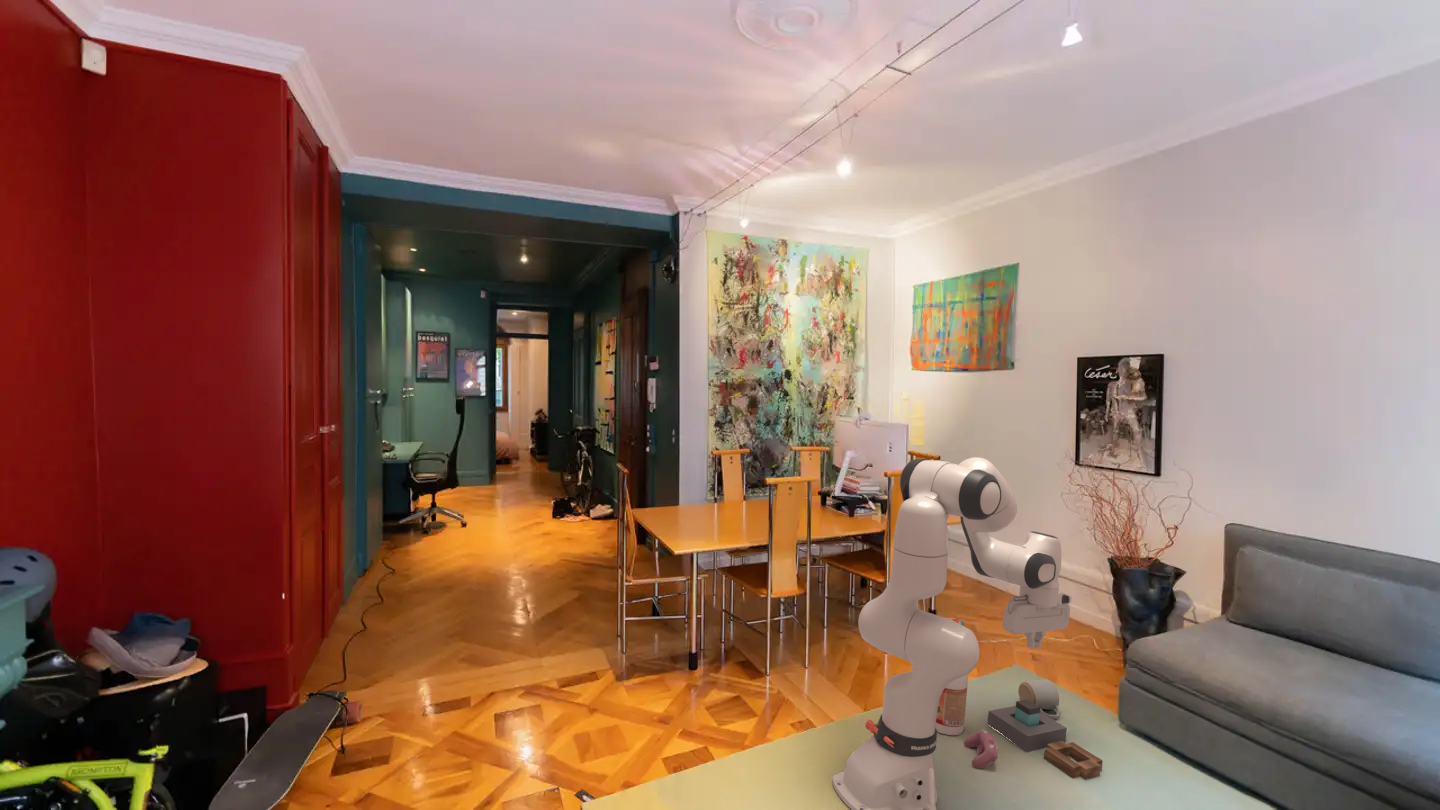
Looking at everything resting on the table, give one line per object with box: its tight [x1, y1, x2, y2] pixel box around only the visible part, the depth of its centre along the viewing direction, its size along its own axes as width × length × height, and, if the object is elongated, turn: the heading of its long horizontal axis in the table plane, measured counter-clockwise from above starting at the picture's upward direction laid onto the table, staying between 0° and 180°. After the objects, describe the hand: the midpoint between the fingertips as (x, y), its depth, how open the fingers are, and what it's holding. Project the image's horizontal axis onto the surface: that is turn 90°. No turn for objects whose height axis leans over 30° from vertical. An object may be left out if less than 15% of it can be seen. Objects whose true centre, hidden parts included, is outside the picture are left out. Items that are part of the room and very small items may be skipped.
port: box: [986, 705, 1067, 753], centre depth 154 cm, size 14×12×4 cm
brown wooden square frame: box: [1043, 741, 1103, 781], centre depth 142 cm, size 10×10×2 cm
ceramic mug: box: [1018, 678, 1060, 721], centre depth 167 cm, size 11×8×8 cm
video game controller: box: [963, 729, 999, 769], centre depth 142 cm, size 10×5×7 cm
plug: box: [1015, 699, 1040, 727], centre depth 154 cm, size 4×4×8 cm
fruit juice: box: [935, 616, 969, 736], centre depth 155 cm, size 9×9×28 cm
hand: (1033, 647), depth 154 cm, fingers closed
